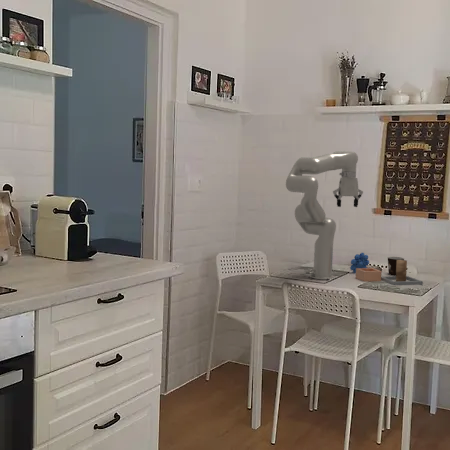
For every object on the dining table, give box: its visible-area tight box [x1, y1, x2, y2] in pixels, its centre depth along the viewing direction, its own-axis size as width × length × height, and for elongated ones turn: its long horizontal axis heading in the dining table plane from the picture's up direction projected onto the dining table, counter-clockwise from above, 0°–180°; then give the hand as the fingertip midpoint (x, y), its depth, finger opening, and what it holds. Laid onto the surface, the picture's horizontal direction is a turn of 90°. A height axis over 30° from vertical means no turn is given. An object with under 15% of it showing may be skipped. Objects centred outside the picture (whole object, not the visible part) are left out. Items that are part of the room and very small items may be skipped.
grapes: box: [349, 252, 370, 274], centre depth 337 cm, size 12×7×12 cm, turn 111°
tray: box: [381, 275, 424, 286], centre depth 315 cm, size 16×14×2 cm
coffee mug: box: [387, 256, 405, 276], centre depth 335 cm, size 12×9×10 cm
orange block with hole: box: [355, 267, 382, 283], centre depth 319 cm, size 9×9×6 cm
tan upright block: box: [395, 259, 408, 282], centre depth 314 cm, size 5×5×11 cm
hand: (347, 206), depth 337 cm, fingers open, 9 cm apart
